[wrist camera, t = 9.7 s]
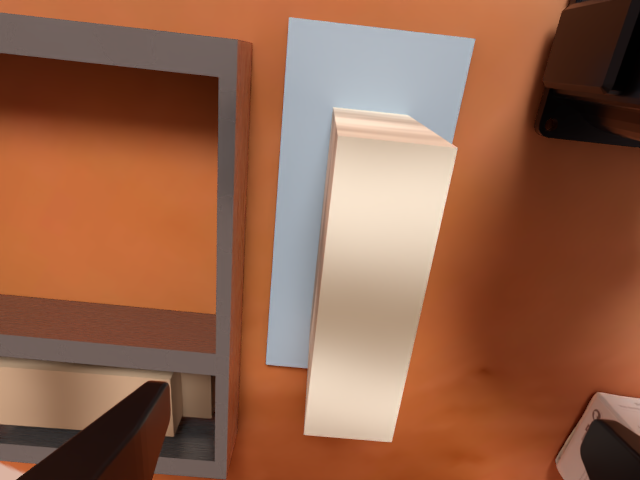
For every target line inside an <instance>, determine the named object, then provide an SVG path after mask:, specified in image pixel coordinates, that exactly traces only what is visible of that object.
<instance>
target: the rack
mask: <svg viewBox="0 0 640 480" xmlns="http://www.w3.org/2000/svg"><path fill="white" fill-rule="evenodd" d="M0 53H7V54H16V55H25V56H34V57H43V58H52V59H61V60H70V61H79V62H88V63H97V64H106V65H115V66H124V67H133V68H142V69H151V70H160V71H169V72H178V73H187V74H196V75H205V76H214V77H219V96H218V192H217V287H216V315H213V314H202V313H192V312H181V311H171V310H160V309H149V308H139V307H128V306H118V305H107V304H96V303H86V302H75V301H65V300H54V299H44V298H33V297H22V296H12V295H1V294H0V356H3V357H14V358H25V359H36V360H47V361H58V362H69V363H80V364H91V365H103V366H114V367H125V368H136V369H147V370H158V371H169V372H180V373H191V374H202V375H213V376H216V382H215V414H213V416H212V419H210V418H197V417H183V416H182V418H181V420H180V423H179V425H178V428H177V430H176V433H175V435H174V437H170V436H165V439H164V442H163V445H162V448H161V452H160V455H159V458H158V461H157V465H156V468H155V471H154V473H155V474H167V475H179V476H191V477H204V478H216V479H226V478H227V474H228V470H229V466H230V462H231V457H232V453H233V449H234V445H235V440H236V436H237V432H238V406H239V379H240V353H241V327H242V301H243V274H244V248H245V222H246V196H247V170H248V143H249V117H250V91H251V65H252V43H250V42H245V41H241V40H236V39H228V38H219V37H210V36H201V35H192V34H184V33H175V32H166V31H157V30H148V29H140V28H131V27H122V26H113V25H104V24H96V23H87V22H78V21H69V20H60V19H52V18H43V17H34V16H25V15H16V14H8V13H0ZM80 431H82V430H73V429H60V428H46V427H32V426H18V425H5V424H0V461H11V462H23V463H35V464H38V463H39V462H40V461H42V460H43V459H44V458H46V457H47V456H48V455H50V454H51V453H52V452H54V451H55V450H56V449H58V448H59V447H60V446H62V445H63V444H64V443H66V442H67V441H68V440H70V439H71V438H72V437H74V436H75V435H76V434H78V433H79V432H80Z"/></svg>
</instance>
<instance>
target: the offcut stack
mask: <svg viewBox="0 0 640 480" xmlns="http://www.w3.org/2000/svg"><path fill="white" fill-rule="evenodd" d="M150 380H154V381H165V382H167V383H169V386H170V404H171V416H170V422H169V426H168V429H167V432H166V435H165V436H170V437H174V435H175V433H176V430H177V428H178V425H179V423H180V420H181V418H182V416H183V417H197V418H210V419H212V416H213V412H214V409H215V382H216V376H213V375H202V374H191V373H180V372H169V371H158V370H147V369H136V368H125V367H114V366H103V365H91V364H80V363H69V362H58V361H47V360H36V359H25V358H14V357H3V356H0V424H5V425H18V426H32V427H46V428H60V429H73V430H83V429H84V428H85V427H87V426H88V425H89V424H91V423H92V422H93V421H95V420H96V419H97V418H99V417H100V416H101V415H103V414H104V413H105V412H107V411H108V410H109V409H111V408H112V407H113V406H115V405H116V404H117V403H119V402H120V401H121V400H123V399H124V398H125V397H127V396H128V395H129V394H131V393H132V392H133V391H135V390H136V389H137V388H139V387H140V386H141V385H143V384H144V383H145V382H147V381H150Z"/></svg>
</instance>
